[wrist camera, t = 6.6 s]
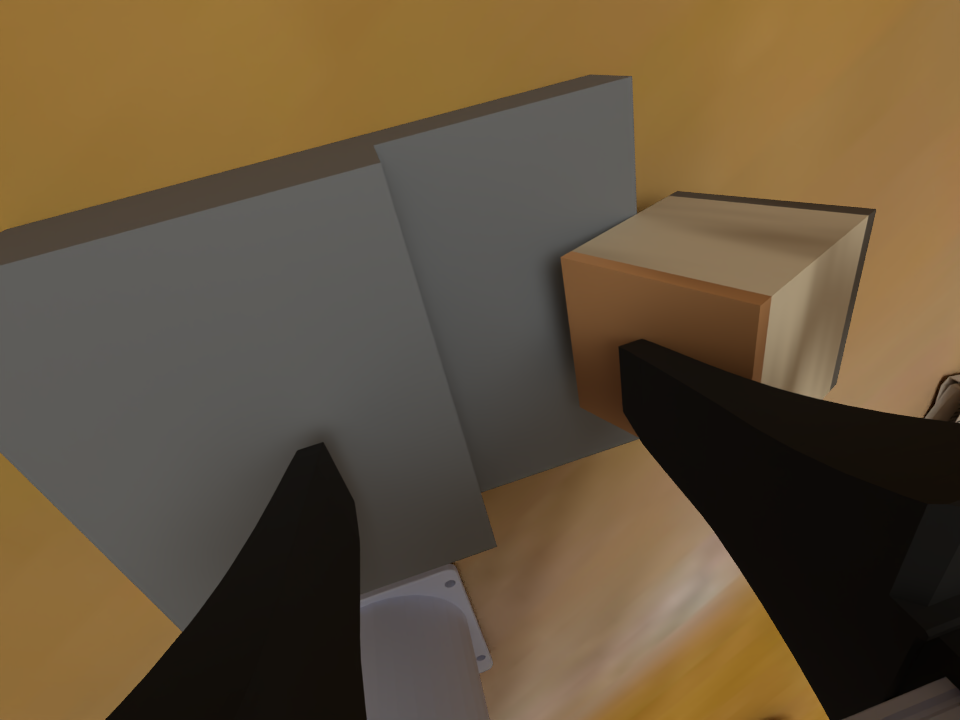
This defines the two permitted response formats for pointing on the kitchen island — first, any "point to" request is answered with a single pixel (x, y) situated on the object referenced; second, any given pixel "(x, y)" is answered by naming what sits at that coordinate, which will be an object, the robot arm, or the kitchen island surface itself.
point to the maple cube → (718, 292)
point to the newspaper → (947, 401)
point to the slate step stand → (316, 337)
